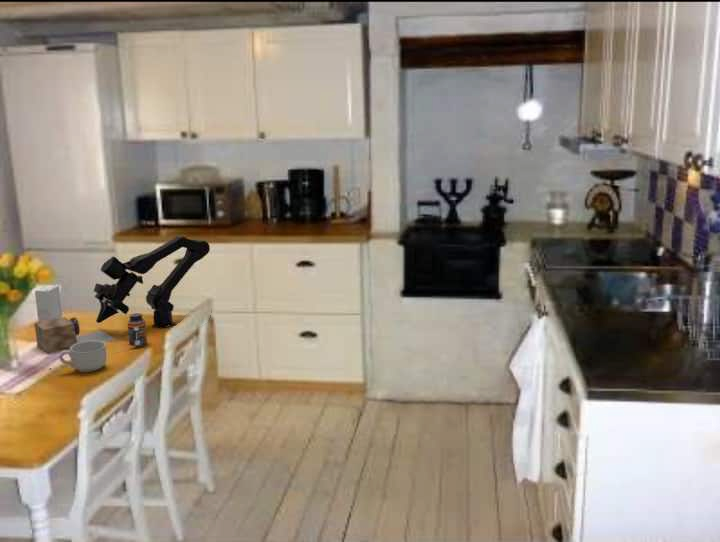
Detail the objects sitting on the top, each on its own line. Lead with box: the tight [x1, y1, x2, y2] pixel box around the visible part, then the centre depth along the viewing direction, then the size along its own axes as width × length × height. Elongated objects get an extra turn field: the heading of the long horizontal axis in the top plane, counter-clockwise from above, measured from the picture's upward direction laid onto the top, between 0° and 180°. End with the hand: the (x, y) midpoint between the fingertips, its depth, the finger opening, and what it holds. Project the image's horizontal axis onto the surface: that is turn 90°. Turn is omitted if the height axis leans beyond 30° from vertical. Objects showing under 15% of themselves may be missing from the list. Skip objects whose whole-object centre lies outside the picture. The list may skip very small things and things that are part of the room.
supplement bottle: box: [127, 312, 148, 349], centre depth 237 cm, size 6×6×11 cm
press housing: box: [34, 316, 77, 355], centre depth 236 cm, size 10×11×8 cm
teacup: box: [58, 340, 107, 373], centre depth 215 cm, size 14×11×8 cm
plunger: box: [69, 317, 80, 336], centre depth 237 cm, size 11×6×6 cm, turn 131°
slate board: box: [35, 330, 117, 356], centre depth 241 cm, size 23×15×1 cm, turn 131°
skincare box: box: [34, 284, 64, 322], centre depth 267 cm, size 8×6×15 cm
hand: (97, 322), depth 245 cm, fingers closed
